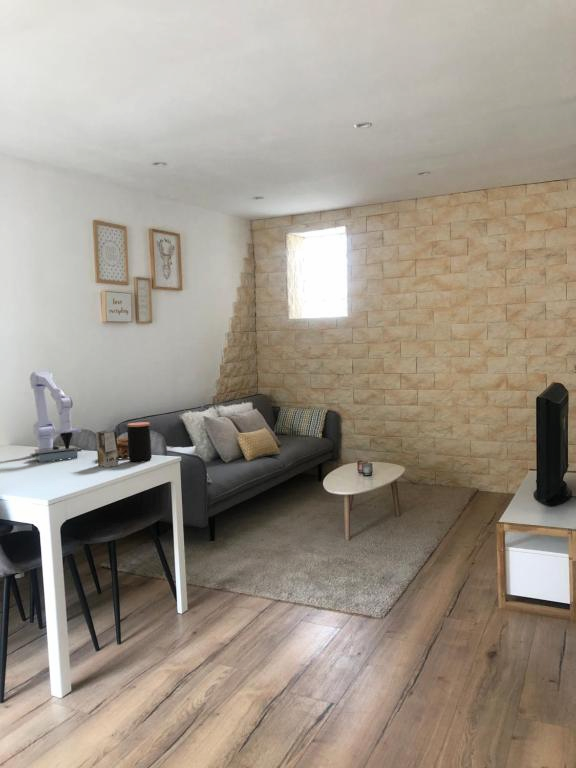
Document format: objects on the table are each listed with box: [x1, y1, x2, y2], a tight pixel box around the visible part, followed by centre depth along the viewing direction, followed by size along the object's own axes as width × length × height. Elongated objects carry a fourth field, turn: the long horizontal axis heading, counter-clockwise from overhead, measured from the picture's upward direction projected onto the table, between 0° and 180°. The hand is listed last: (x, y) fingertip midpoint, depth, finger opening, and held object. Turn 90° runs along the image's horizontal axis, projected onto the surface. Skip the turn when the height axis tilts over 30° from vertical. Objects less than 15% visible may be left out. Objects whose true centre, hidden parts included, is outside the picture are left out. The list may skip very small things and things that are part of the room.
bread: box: [117, 437, 129, 459], centre depth 317 cm, size 19×11×10 cm, turn 116°
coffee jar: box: [126, 421, 153, 463], centre depth 304 cm, size 11×11×18 cm
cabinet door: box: [34, 444, 79, 454], centre depth 321 cm, size 15×19×2 cm
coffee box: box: [95, 429, 119, 468], centre depth 295 cm, size 9×6×16 cm
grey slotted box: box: [29, 447, 82, 463], centre depth 322 cm, size 14×24×4 cm, turn 120°
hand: (67, 447), depth 321 cm, fingers closed, pressing on cabinet door
